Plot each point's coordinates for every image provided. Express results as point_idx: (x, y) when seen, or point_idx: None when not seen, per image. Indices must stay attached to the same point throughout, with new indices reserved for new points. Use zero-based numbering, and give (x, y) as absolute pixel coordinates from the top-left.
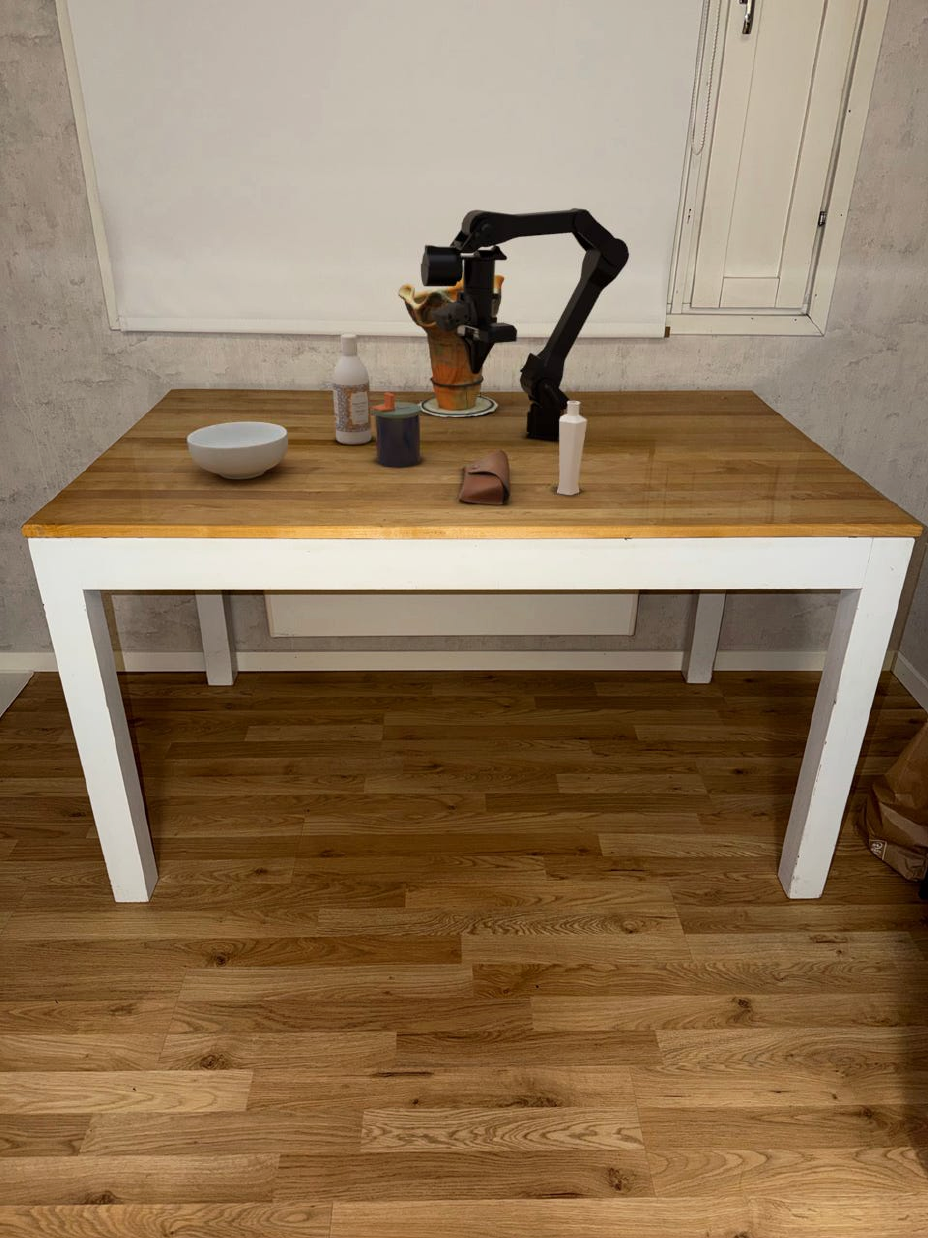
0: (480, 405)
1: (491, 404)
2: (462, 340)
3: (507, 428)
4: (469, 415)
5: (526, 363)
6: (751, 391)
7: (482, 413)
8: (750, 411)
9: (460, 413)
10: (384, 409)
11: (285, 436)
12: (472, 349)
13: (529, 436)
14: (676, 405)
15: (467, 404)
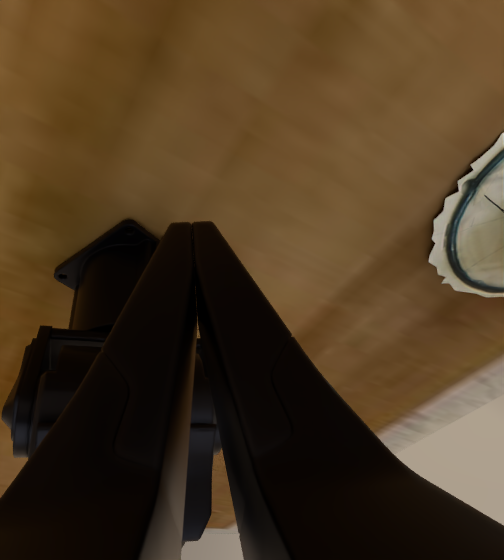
0: (499, 254)
1: (470, 278)
2: (367, 533)
3: (264, 218)
4: (462, 181)
5: (199, 475)
6: (222, 528)
7: (440, 225)
8: None
9: (502, 165)
10: None
11: None
12: (117, 447)
13: (117, 226)
14: (215, 479)
15: (495, 205)
